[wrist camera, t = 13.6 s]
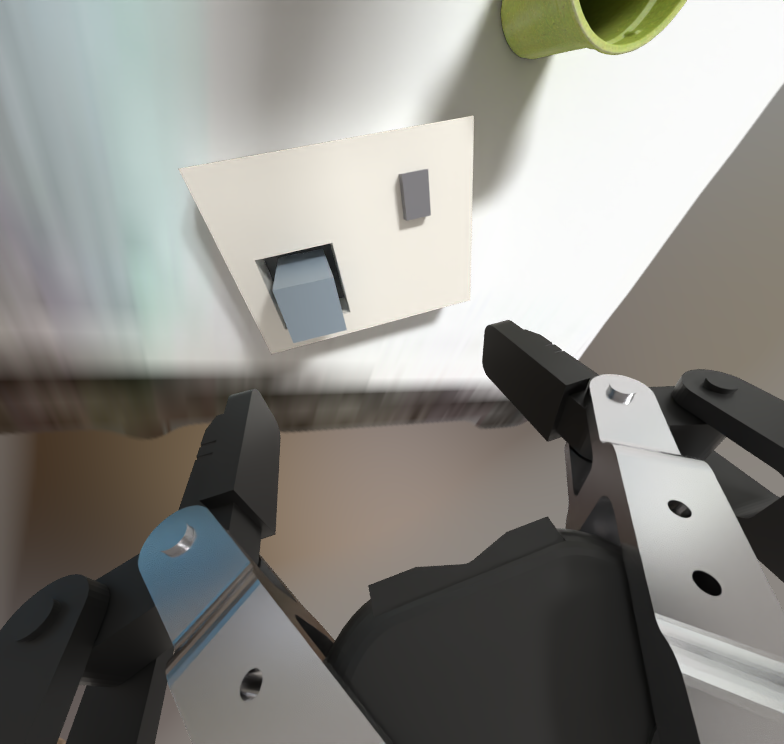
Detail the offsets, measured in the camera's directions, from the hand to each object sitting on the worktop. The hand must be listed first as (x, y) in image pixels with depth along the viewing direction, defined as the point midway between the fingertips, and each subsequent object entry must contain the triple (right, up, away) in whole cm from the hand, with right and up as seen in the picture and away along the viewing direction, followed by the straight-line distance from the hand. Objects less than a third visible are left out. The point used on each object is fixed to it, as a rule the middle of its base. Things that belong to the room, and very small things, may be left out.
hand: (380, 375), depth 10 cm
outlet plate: (-3, +12, +16) cm, 21 cm away
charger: (-8, +9, +17) cm, 21 cm away
